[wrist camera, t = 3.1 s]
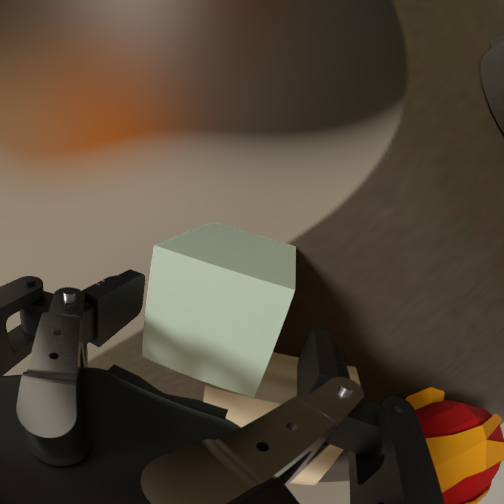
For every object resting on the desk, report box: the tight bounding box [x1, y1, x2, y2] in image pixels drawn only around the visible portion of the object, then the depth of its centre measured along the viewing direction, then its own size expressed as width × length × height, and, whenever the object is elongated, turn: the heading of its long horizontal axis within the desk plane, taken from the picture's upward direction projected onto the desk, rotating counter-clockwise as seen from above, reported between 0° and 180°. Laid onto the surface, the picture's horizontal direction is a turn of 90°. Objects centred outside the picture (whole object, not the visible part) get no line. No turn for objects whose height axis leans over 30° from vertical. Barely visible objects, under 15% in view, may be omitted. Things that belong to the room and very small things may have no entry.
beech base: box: [203, 352, 364, 485], centre depth 16 cm, size 9×9×5 cm
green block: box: [142, 222, 296, 398], centre depth 13 cm, size 5×5×7 cm
